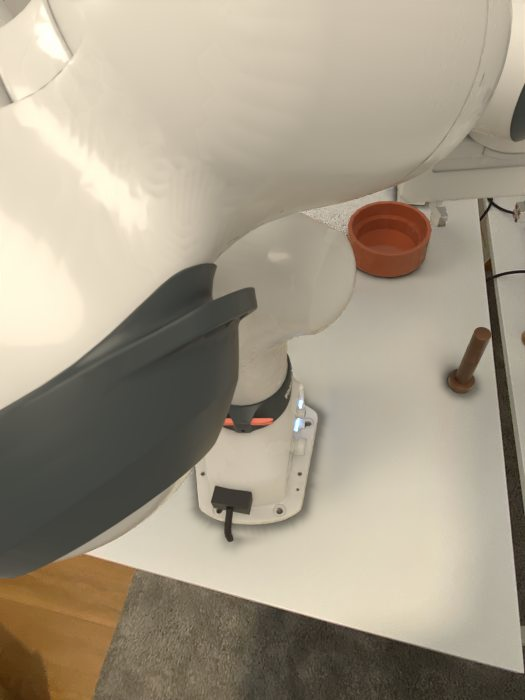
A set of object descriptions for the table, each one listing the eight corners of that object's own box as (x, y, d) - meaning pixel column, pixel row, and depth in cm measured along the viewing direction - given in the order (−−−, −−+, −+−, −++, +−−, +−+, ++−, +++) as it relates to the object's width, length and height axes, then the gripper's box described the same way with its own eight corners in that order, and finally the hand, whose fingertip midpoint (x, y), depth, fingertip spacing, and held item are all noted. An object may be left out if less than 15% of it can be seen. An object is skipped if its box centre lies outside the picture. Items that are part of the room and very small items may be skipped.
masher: (474, 393, 74) (500, 343, 64) (449, 394, 75) (471, 344, 65) (469, 373, 76) (493, 322, 66) (445, 373, 77) (465, 322, 67)
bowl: (431, 278, 88) (438, 253, 83) (348, 281, 90) (351, 256, 85) (418, 224, 97) (424, 199, 92) (343, 227, 98) (345, 202, 93)
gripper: (409, 137, 47) (392, 245, 58) (642, 120, 45) (577, 235, 56) (400, 100, 50) (385, 208, 62) (616, 82, 48) (559, 198, 60)
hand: (478, 221), depth 59 cm, fingers open, 8 cm apart
